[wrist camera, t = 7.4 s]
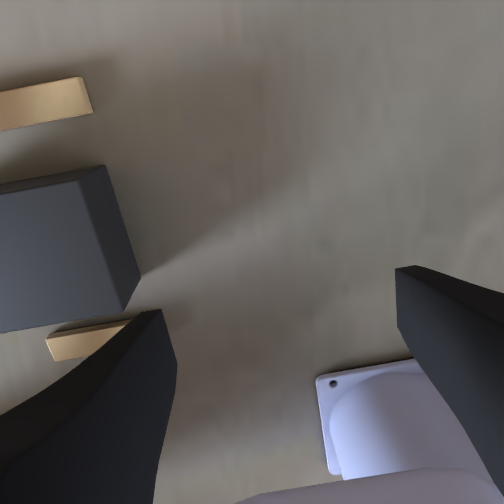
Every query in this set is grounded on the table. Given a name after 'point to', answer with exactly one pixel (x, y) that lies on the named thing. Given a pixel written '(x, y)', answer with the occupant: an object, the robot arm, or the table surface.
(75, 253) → the black block
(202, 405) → the table surface
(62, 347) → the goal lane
